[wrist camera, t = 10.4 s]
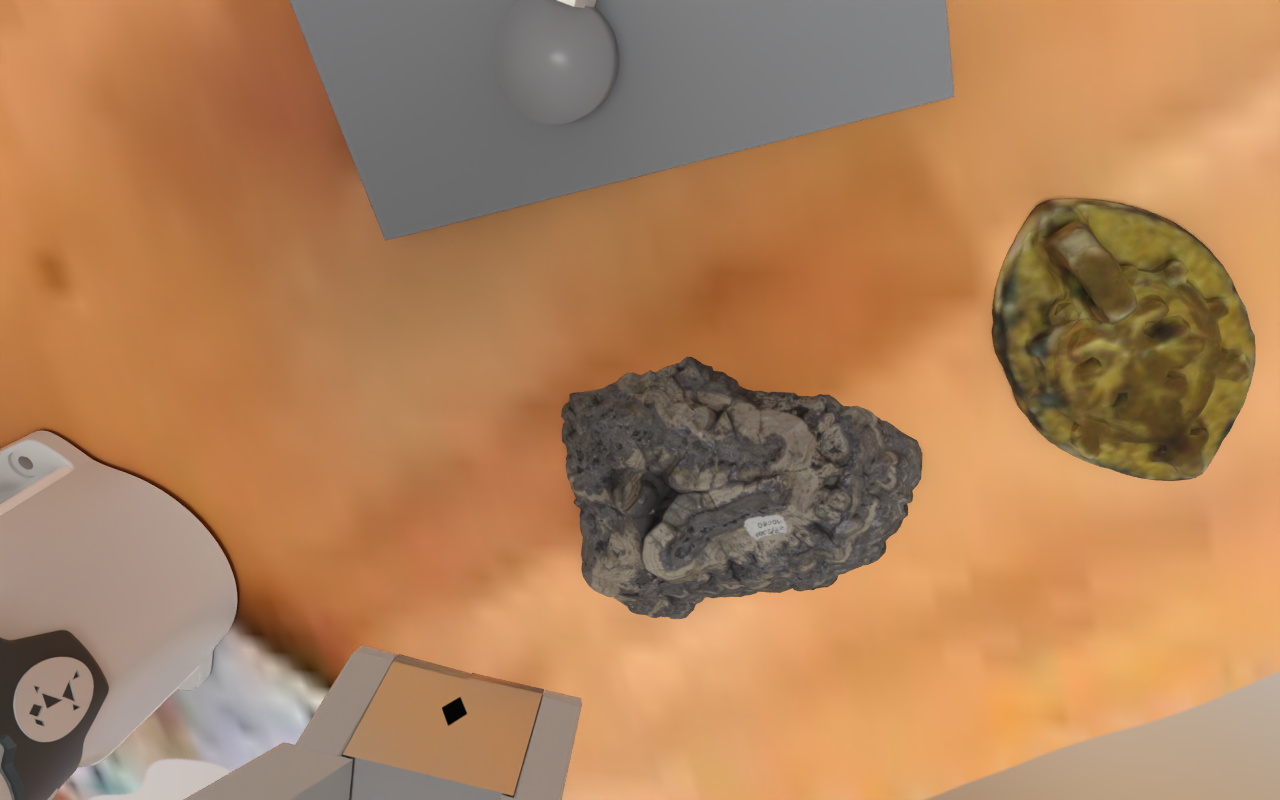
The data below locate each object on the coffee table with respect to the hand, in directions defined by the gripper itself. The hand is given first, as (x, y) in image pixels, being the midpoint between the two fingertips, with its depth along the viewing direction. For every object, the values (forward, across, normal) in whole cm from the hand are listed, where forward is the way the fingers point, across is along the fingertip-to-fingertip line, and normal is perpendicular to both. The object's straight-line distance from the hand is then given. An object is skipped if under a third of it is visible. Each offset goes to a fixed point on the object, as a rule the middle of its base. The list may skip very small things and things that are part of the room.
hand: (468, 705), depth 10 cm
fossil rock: (+27, -6, +11) cm, 30 cm away
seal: (+26, -21, -1) cm, 34 cm away
